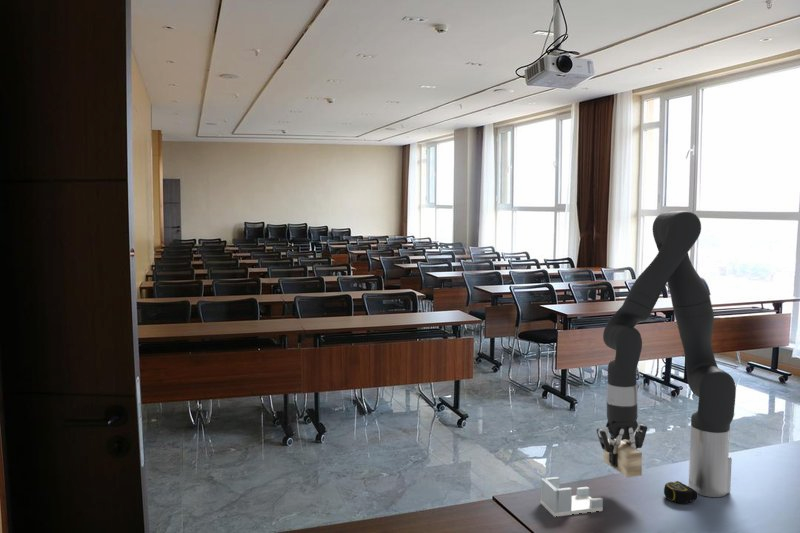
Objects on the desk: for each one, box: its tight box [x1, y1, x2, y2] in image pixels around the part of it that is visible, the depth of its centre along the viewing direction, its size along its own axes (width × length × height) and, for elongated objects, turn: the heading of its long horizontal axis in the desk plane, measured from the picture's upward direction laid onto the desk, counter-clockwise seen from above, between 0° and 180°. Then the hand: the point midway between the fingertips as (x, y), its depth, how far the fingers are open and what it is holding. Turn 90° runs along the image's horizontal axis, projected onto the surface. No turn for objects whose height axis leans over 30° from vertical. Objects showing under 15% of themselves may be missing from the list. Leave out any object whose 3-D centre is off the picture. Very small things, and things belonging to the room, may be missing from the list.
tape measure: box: [663, 480, 699, 504], centre depth 164 cm, size 7×7×4 cm
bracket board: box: [540, 476, 604, 518], centre depth 159 cm, size 13×8×6 cm, turn 103°
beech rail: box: [602, 438, 643, 478], centre depth 166 cm, size 11×4×6 cm, turn 14°
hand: (622, 464), depth 166 cm, fingers closed on beech rail, 4 cm apart
